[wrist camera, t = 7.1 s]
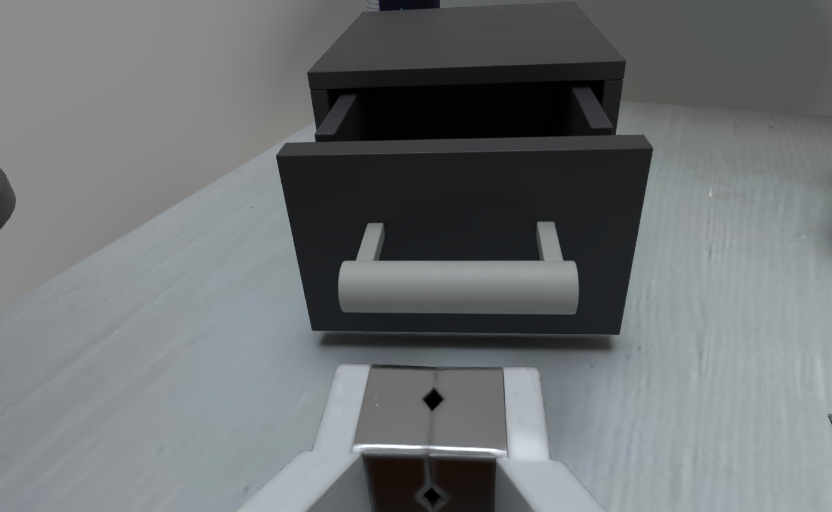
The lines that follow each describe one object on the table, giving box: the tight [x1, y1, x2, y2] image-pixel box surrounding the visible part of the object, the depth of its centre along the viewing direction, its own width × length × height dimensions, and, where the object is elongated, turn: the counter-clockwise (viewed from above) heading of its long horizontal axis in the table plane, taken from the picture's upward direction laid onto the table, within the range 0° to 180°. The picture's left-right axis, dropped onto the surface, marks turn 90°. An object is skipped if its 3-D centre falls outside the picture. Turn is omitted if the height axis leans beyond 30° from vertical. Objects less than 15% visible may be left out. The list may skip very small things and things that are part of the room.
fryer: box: [307, 2, 626, 135], centre depth 33 cm, size 15×14×10 cm
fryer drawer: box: [276, 81, 653, 335], centre depth 24 cm, size 18×12×8 cm
